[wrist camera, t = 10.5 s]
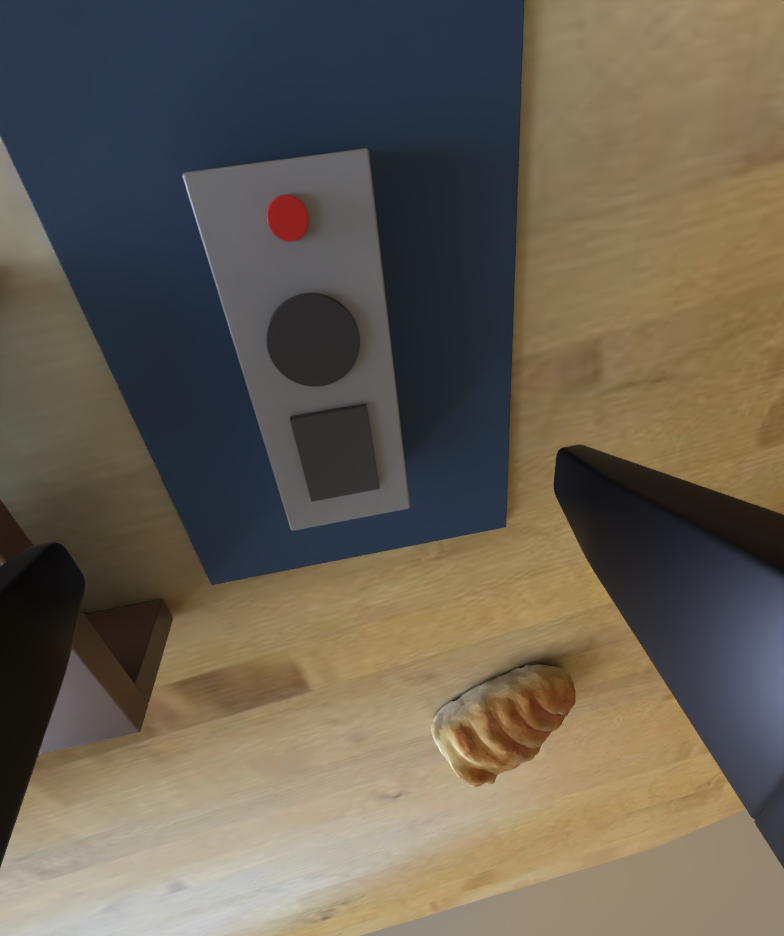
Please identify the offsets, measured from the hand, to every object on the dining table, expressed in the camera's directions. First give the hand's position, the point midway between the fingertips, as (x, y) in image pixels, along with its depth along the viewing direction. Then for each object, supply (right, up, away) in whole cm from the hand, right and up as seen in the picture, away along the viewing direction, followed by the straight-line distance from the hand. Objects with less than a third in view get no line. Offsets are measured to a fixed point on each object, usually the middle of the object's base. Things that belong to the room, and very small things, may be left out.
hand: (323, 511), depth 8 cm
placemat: (-1, +5, +8) cm, 10 cm away
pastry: (+8, -15, +23) cm, 28 cm away
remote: (-1, +5, +8) cm, 9 cm away
